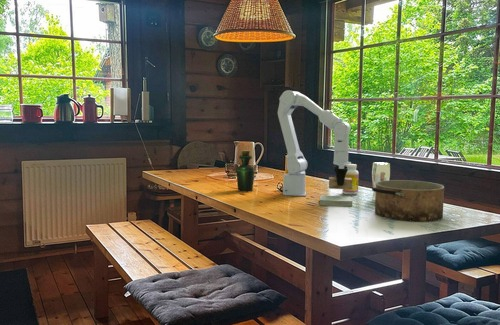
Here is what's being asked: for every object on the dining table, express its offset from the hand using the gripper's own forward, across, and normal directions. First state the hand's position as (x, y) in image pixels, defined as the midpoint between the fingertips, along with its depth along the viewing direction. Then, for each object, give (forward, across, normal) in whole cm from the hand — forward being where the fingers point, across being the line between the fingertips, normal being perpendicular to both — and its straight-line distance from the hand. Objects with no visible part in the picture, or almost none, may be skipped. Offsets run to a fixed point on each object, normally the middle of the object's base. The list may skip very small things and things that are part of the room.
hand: (340, 184), depth 194 cm
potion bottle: (+6, +11, +41) cm, 43 cm away
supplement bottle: (+6, +13, -5) cm, 15 cm away
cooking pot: (+6, -27, -22) cm, 36 cm away
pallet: (+2, 0, 0) cm, 2 cm away
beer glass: (+6, 0, -16) cm, 17 cm away
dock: (+6, -11, +2) cm, 13 cm away
